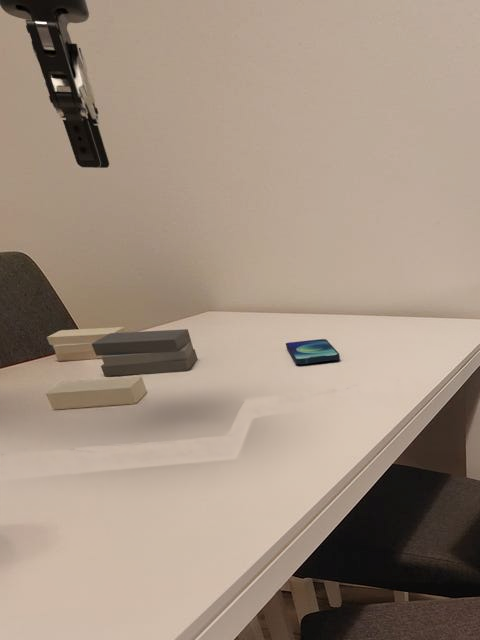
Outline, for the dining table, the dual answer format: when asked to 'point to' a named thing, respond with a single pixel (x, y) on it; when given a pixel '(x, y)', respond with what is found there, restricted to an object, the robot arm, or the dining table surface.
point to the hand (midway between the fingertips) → (95, 167)
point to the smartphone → (312, 351)
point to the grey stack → (145, 352)
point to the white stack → (78, 342)
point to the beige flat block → (96, 393)
